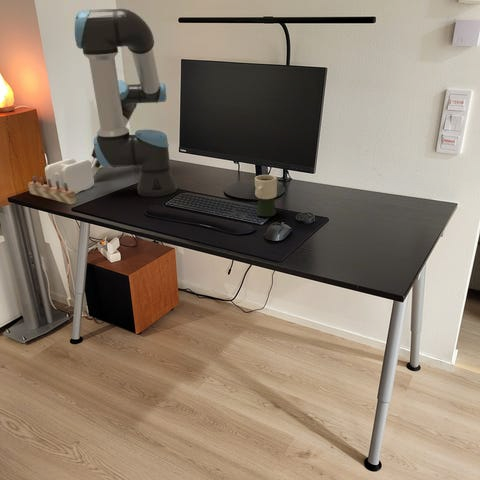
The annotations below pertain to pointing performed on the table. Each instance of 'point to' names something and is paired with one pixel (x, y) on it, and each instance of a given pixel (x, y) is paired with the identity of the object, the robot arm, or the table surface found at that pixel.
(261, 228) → the table surface
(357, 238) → the table surface
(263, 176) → the character mug
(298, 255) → the table surface
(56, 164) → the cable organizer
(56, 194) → the comb rail
